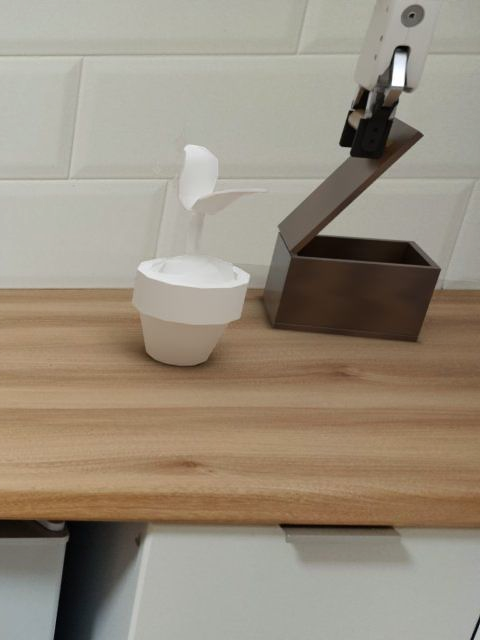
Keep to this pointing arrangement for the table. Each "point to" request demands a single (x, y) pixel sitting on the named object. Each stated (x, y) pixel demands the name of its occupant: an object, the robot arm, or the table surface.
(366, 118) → the robot arm
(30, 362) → the table surface
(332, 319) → the chest
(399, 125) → the lid
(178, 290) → the potted plant
